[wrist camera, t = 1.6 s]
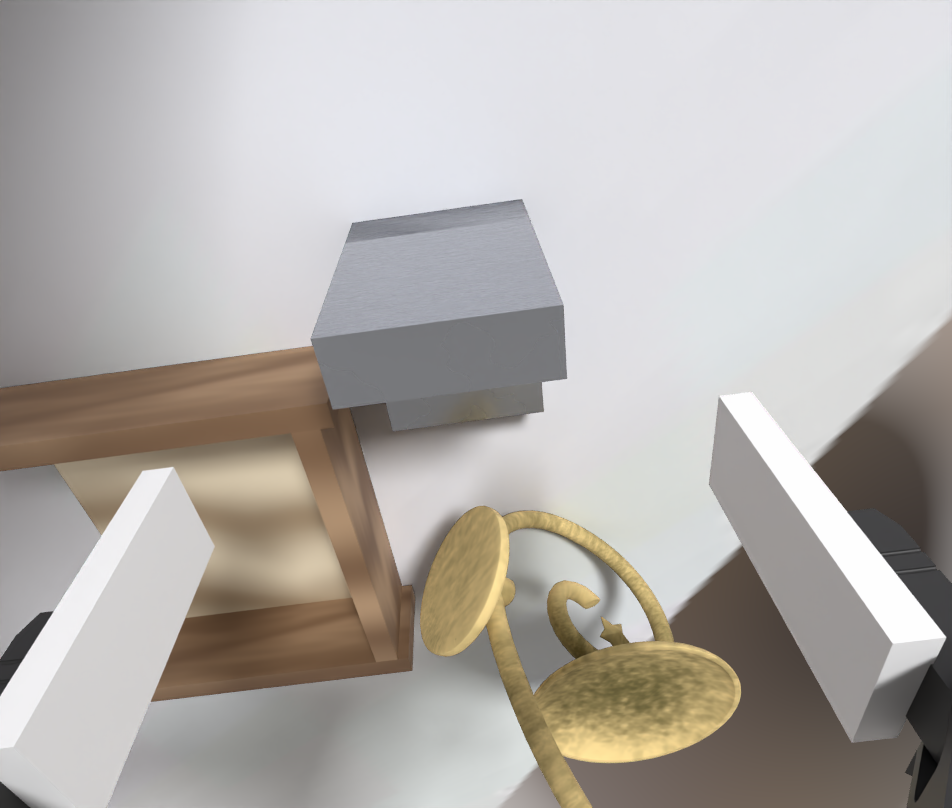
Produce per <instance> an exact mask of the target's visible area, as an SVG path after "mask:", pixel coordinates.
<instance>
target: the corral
mask: <svg viewBox="0 0 952 808" xmlns="http://www.w3.org/2000/svg"><path fill="white" fill-rule="evenodd" d="M52 464H54V465H55V467H56V468H57V470H58V471H59V473H60V474H61V476H62V477H63V479H64V480H65V482H66V483H67V485H68V486H69V488H70V489H71V491H72V492H73V494H74V495H75V497H76V498H77V500H78V501H79V502H80V504H81V505H82V507H83V508H84V510H85V511H86V513H87V514H88V516H89V517H90V519H91V520H92V522H93V523H94V525H95V526H96V528H97V529H98V531H99V532H100V534H101V535H102V534H103V533H104V531H105V530H106V528H107V526H108V525H109V523H110V522H111V520H112V519H113V517H114V515H115V514H116V512H117V511H118V509H119V508H120V506H121V504H122V503H123V501H124V500H125V498H126V496H127V495H128V493H129V492H130V490H131V489H132V487H133V485H134V484H135V482H136V481H137V479H138V477H139V476H140V474H141V473H142V471H146V470H154V469H161V468H169V467H174V469H175V471H176V473H177V474H178V476H179V478H180V480H181V482H182V484H183V486H184V488H185V490H186V492H187V494H188V496H189V498H190V500H191V502H192V503H193V505H194V507H195V509H196V511H197V513H198V515H199V517H200V519H201V521H202V523H203V525H204V527H205V529H206V531H207V532H208V534H209V536H210V538H211V540H212V542H213V544H214V546H215V547H214V549H213V552H212V554H211V557H210V559H209V561H208V564H207V566H206V569H205V571H204V574H203V576H202V578H201V581H200V583H199V586H198V588H197V591H196V593H195V595H194V598H193V600H192V603H191V605H190V607H189V610H188V612H187V615H186V617H185V620H184V622H183V624H182V627H181V629H180V632H179V634H178V637H177V639H176V641H175V644H174V646H173V649H172V651H171V653H170V656H169V658H168V661H167V663H166V666H165V668H164V670H163V673H162V675H161V678H160V680H159V683H158V685H157V687H156V690H155V692H154V695H153V697H152V699H151V702H153V701H162V700H170V699H179V698H187V697H195V696H204V695H212V694H221V693H229V692H237V691H246V690H254V689H263V688H271V687H279V686H288V685H296V684H305V683H313V682H321V681H330V680H338V679H347V678H355V677H363V676H372V675H380V674H389V673H397V672H405V671H412V667H413V641H414V615H415V595H414V591H413V588H412V585H407V586H402V584H401V581H400V577H399V574H398V571H397V567H396V564H395V560H394V557H393V554H392V550H391V547H390V543H389V540H388V537H387V533H386V530H385V527H384V523H383V520H382V516H381V513H380V510H379V506H378V503H377V500H376V496H375V493H374V489H373V486H372V483H371V479H370V476H369V472H368V469H367V466H366V462H365V459H364V456H363V452H362V449H361V445H360V442H359V439H358V435H357V432H356V428H355V425H354V422H353V418H352V415H351V412H350V408H341V409H334V410H333V408H332V405H331V402H330V399H329V396H328V393H327V389H326V386H325V383H324V380H323V377H322V374H321V370H320V367H319V364H318V361H317V358H316V355H315V351H314V348H313V346H309V347H302V348H295V349H287V350H280V351H272V352H265V353H258V354H250V355H243V356H235V357H228V358H221V359H213V360H206V361H198V362H191V363H183V364H176V365H169V366H161V367H154V368H146V369H139V370H132V371H124V372H117V373H109V374H102V375H95V376H87V377H80V378H72V379H65V380H57V381H50V382H43V383H35V384H28V385H20V386H13V387H6V388H0V471H6V470H14V469H22V468H29V467H37V466H44V465H52Z"/></svg>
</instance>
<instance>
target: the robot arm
mask: <svg viewBox="0 0 952 808" xmlns="http://www.w3.org/2000/svg"><path fill="white" fill-rule="evenodd" d="M709 485H710V487H711V489H712V491H713V493H714V494H715V496H716V498H717V500H718V502H719V503H720V505H721V507H722V509H723V511H724V512H725V514H726V516H727V518H728V520H729V522H730V523H731V525H732V527H733V529H734V531H735V532H736V534H737V536H738V538H739V540H740V541H741V543H742V545H743V547H744V549H745V550H746V552H747V554H748V556H749V558H750V559H751V561H752V563H753V565H754V567H755V568H756V570H757V572H758V574H759V576H760V578H761V579H762V581H763V583H764V585H765V586H766V588H767V590H768V592H769V594H770V595H771V597H772V599H773V601H774V603H775V605H776V606H777V608H778V610H779V612H780V614H781V615H782V617H783V619H784V621H785V623H786V624H787V626H788V628H789V630H790V632H791V634H792V635H793V637H794V639H795V641H796V642H797V644H798V646H799V648H800V650H801V651H802V653H803V655H804V657H805V659H806V661H807V662H808V664H809V666H810V668H811V670H812V671H813V673H814V675H815V677H816V679H817V680H818V682H819V684H820V686H821V688H822V690H823V691H824V693H825V695H826V697H827V699H828V700H829V702H830V704H831V706H832V708H833V709H834V711H835V713H836V715H837V717H838V718H839V720H840V722H841V724H842V726H843V727H844V729H845V731H846V733H847V735H848V736H849V738H850V740H851V742H861V741H869V740H879V739H887V738H896V737H898V735H899V733H900V731H901V729H902V727H903V725H904V723H905V721H906V719H908V720H909V722H910V723H911V725H912V726H913V728H914V730H915V731H916V732H917V734H918V736H919V737H920V739H921V740H922V742H921V744H920V746H919V747H918V749H917V751H916V753H915V756H914V757H913V759H912V761H911V762H910V764H909V766H908V768H907V770H906V772H905V773H907V774H909V775H911V776H912V781H911V786H910V792H909V797H908V803H907V808H952V583H951V582H950V581H949V580H948V579H947V578H946V577H945V576H944V574H943V573H942V572H941V571H940V570H937V569H936V565H935V564H934V563H933V562H932V561H931V559H930V558H929V557H928V556H927V555H926V554H925V553H924V552H921V551H920V547H919V546H918V545H917V543H916V542H915V541H914V540H913V539H912V538H911V537H910V535H909V534H908V533H907V532H906V531H905V530H904V529H903V528H902V526H900V525H899V524H897V523H896V522H894V521H893V520H891V519H890V518H888V517H887V516H885V515H883V514H882V513H880V512H879V511H877V510H876V509H874V508H873V509H864V510H856V511H848V512H847V511H846V510H845V509H844V508H843V507H842V505H841V504H840V503H839V501H838V500H837V499H836V497H835V496H834V495H833V494H832V493H831V491H830V490H829V489H828V487H827V486H826V485H825V484H824V482H823V481H822V480H821V479H820V478H819V476H818V475H817V474H816V472H815V471H814V470H813V468H812V467H811V466H810V465H809V463H808V462H807V461H806V460H805V458H804V457H803V456H802V455H801V453H800V452H799V451H798V450H797V448H796V447H795V446H794V445H793V443H792V442H791V441H790V439H789V438H788V437H787V436H786V434H785V433H784V432H783V431H782V429H781V428H780V427H779V426H778V424H777V423H776V422H775V421H774V419H773V418H772V417H771V416H770V414H769V413H768V412H767V410H766V409H765V408H764V407H763V405H762V404H761V403H760V402H759V400H758V399H757V398H756V397H755V395H754V394H753V393H752V392H746V393H739V394H731V395H723V396H719V400H718V409H717V418H716V426H715V435H714V444H713V452H712V461H711V470H710V479H709ZM214 547H215V546H214V544H213V542H212V540H211V538H210V536H209V534H208V532H207V531H206V529H205V527H204V525H203V523H202V521H201V519H200V517H199V515H198V513H197V511H196V509H195V507H194V505H193V503H192V502H191V500H190V498H189V496H188V494H187V492H186V490H185V488H184V486H183V484H182V482H181V480H180V478H179V476H178V474H177V473H176V471H175V469H174V467H169V468H161V469H154V470H146V471H142V473H141V474H140V476H139V477H138V479H137V481H136V482H135V484H134V485H133V487H132V489H131V490H130V492H129V493H128V495H127V496H126V498H125V500H124V501H123V503H122V504H121V506H120V508H119V509H118V511H117V512H116V514H115V515H114V517H113V519H112V520H111V522H110V523H109V525H108V526H107V528H106V530H105V531H104V533H103V534H102V536H101V538H100V539H99V541H98V542H97V544H96V545H95V547H94V549H93V550H92V552H91V553H90V555H89V557H88V558H87V560H86V561H85V563H84V564H83V566H82V568H81V569H80V571H79V572H78V574H77V576H76V577H75V579H74V580H73V582H72V583H71V585H70V587H69V588H68V590H67V591H66V593H65V594H64V596H63V598H62V599H61V601H60V602H59V604H58V606H57V607H56V609H55V610H54V611H52V612H44V613H40V614H39V615H38V616H36V617H35V618H34V619H33V620H32V621H31V622H30V623H29V624H28V625H27V626H26V627H25V628H24V629H23V630H22V631H21V632H20V633H18V634H17V635H16V636H15V638H14V639H13V641H12V642H11V644H10V645H9V647H8V648H7V650H6V651H5V653H4V654H3V656H2V657H1V659H0V808H107V806H108V804H109V801H110V799H111V796H112V794H113V791H114V789H115V787H116V784H117V782H118V779H119V777H120V774H121V772H122V770H123V767H124V765H125V762H126V760H127V758H128V755H129V753H130V750H131V748H132V745H133V743H134V741H135V738H136V736H137V733H138V731H139V728H140V726H141V724H142V721H143V719H144V716H145V714H146V712H147V709H148V707H149V704H150V702H151V699H152V697H153V695H154V692H155V690H156V687H157V685H158V683H159V680H160V678H161V675H162V673H163V670H164V668H165V666H166V663H167V661H168V658H169V656H170V653H171V651H172V649H173V646H174V644H175V641H176V639H177V637H178V634H179V632H180V629H181V627H182V624H183V622H184V620H185V617H186V615H187V612H188V610H189V607H190V605H191V603H192V600H193V598H194V595H195V593H196V591H197V588H198V586H199V583H200V581H201V578H202V576H203V574H204V571H205V569H206V566H207V564H208V561H209V559H210V557H211V554H212V552H213V549H214Z"/></svg>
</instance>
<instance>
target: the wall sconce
mask: <svg viewBox="0 0 952 808" xmlns="http://www.w3.org/2000/svg"><path fill="white" fill-rule="evenodd" d="M522 528H539V529H544V530H548V531H551V532H554V533H557V534H559V535H562V536H564V537H566V538H568V539H570V540H572V541H574V542H576V543H577V544H579V545H581V546H582V547H584V548H586V549H587V550H589V551H590V552H592V553H593V554H594V555H596V556H597V557H598V558H600V559H601V560H602V561H603V562H605V563H606V564H607V565H608V566H609V567H610V568H611V569H612V570H614V572H615V573H616V574H617V575H618V576H619V577H620V578H621V579H622V580H623V581H624V582H625V584H626V585H627V586H628V587H629V588H630V590H631V591H632V592H633V594H634V595H635V597H636V598H637V600H638V601H639V603H640V605H641V606H642V608H643V610H644V612H645V614H646V616H647V618H648V620H649V623H650V626H651V628H652V631H653V635H654V638H655V641H647V642H635V643H629V641H628V640H627V639H626V637H625V636H624V635H623V633H622V626H621V624H616V625H612V624H611V623H609V622H608V621H607V620H605V619H604V618H603V617H601V619H602V623H603V626H604V631H603V632H602V634H601V635H600V637H601V638H603V639H605V640H607V641H608V642H610V643H611V644H612V647H608V648H604V649H601V650H597V649H596V648H595V647H593V646H592V645H591V644H590V643H589V642H588V641H586V640H585V639H584V638H583V637H582V635H581V634H580V633H579V632H578V631H577V630H576V628H575V627H574V625H573V624H572V622H571V620H570V617H569V615H568V612H567V607H566V602H567V599H570V600H573V601H575V602H576V603H578V604H579V605H581V606H582V607H583V608H585V609H588V608H591V607H593V606H595V605H596V604H597V603H598V602H599V601H600V599H599V598H598V597H597V596H596V595H595V594H594V593H593V592H592V591H590V590H589V589H588V588H586V587H585V586H583V585H580V584H578V583H576V582H571V581H561V582H558V583H556V584H555V585H554V586H553V587H552V589H551V590H550V592H549V595H548V599H547V612H548V616H549V619H550V623H551V625H552V627H553V630H554V632H555V634H556V636H557V637H558V639H559V640H560V642H561V643H562V645H563V646H564V647H565V648H566V649H567V650H568V651H569V653H570V654H571V655H572V656H573V657H574V658H576V659H575V660H573V661H571V662H569V663H568V664H566V665H564V666H563V667H561V668H559V669H558V670H557V671H555V672H554V673H553V674H551V675H550V676H549V677H548V678H547V679H546V680H545V681H544V682H543V683H542V684H541V685H540V687H539V688H538V689H537V691H536V692H535V694H534V695H533V692H532V690H531V687H530V685H529V682H528V680H527V677H526V675H525V673H524V670H523V668H522V665H521V662H520V659H519V656H518V653H517V650H516V648H515V645H514V642H513V638H512V635H511V631H510V628H509V624H508V620H507V617H506V612H505V606H507V605H509V604H510V603H511V602H512V600H513V599H514V596H515V585H514V582H513V581H512V580H510V579H508V578H506V574H507V568H508V562H509V534H510V533H511V532H513V531H515V530H518V529H522ZM485 626H486V627H487V631H488V635H489V639H490V643H491V647H492V651H493V654H494V657H495V660H496V663H497V666H498V669H499V672H500V675H501V678H502V681H503V684H504V686H505V689H506V692H507V694H508V697H509V700H510V702H511V705H512V707H513V710H514V712H515V715H516V717H517V719H518V722H519V724H520V726H521V729H522V731H523V733H524V736H525V738H526V740H527V742H528V744H529V746H530V749H531V751H532V753H533V755H534V757H535V759H536V761H537V763H538V765H539V767H540V769H541V771H542V773H543V775H544V777H545V779H546V780H547V782H548V784H549V786H550V788H551V790H552V792H553V794H554V796H555V797H556V799H557V801H558V802H559V804H560V806H561V808H592V806H591V804H590V802H589V801H588V799H587V798H586V796H585V794H584V792H583V791H582V789H581V787H580V786H579V784H578V782H577V781H576V779H575V777H574V776H573V774H572V772H571V770H570V768H569V766H568V764H567V763H566V761H565V759H564V757H563V756H565V757H568V758H572V759H576V760H581V761H587V762H598V763H620V762H632V761H640V760H645V759H651V758H655V757H659V756H663V755H667V754H670V753H673V752H676V751H679V750H681V749H683V748H686V747H689V746H691V745H692V744H695V743H697V742H699V741H700V740H702V739H704V738H706V737H707V736H709V735H710V734H712V733H713V732H714V731H716V730H717V729H718V728H720V727H721V726H722V725H723V724H724V723H725V722H726V721H727V720H728V719H729V718H730V717H731V716H732V714H733V712H734V711H735V709H736V708H737V705H738V703H739V700H740V696H741V687H740V686H741V685H740V682H739V679H738V677H737V675H736V674H735V672H734V670H733V669H732V668H731V667H730V666H729V665H728V664H727V663H726V662H725V661H724V660H722V659H721V658H720V657H718V656H716V655H714V654H712V653H710V652H708V651H706V650H704V649H701V648H698V647H695V646H692V645H687V644H682V643H676V642H674V640H673V636H672V633H671V630H670V626H669V624H668V621H667V619H666V616H665V614H664V612H663V610H662V608H661V606H660V604H659V602H658V600H657V599H656V597H655V595H654V594H653V592H652V591H651V589H650V588H649V586H648V585H647V584H646V582H645V581H644V580H643V578H642V577H641V576H640V575H639V574H638V572H637V571H636V570H635V569H634V568H633V567H632V566H631V565H630V564H629V563H628V562H627V561H626V560H625V559H624V558H623V557H622V556H621V555H620V554H619V553H618V552H617V551H615V550H614V549H613V548H612V547H611V546H609V545H608V544H607V543H605V542H604V541H603V540H601V539H600V538H598V537H597V536H596V535H594V534H592V533H591V532H589V531H587V530H586V529H584V528H582V527H580V526H579V525H577V524H575V523H573V522H571V521H568V520H566V519H564V518H561V517H559V516H556V515H553V514H549V513H545V512H540V511H518V512H513V513H509V514H507V515H505V516H503V517H502V516H501V515H500V514H499V513H498V512H497V511H495V510H494V509H492V508H490V507H486V506H478V507H475V508H473V509H471V510H469V511H468V512H466V513H465V514H464V515H463V516H462V517H461V518H460V519H459V520H458V521H457V522H456V523H455V524H454V526H453V527H452V528H451V530H450V531H449V533H448V534H447V536H446V537H445V539H444V541H443V542H442V544H441V546H440V548H439V550H438V552H437V554H436V556H435V558H434V561H433V563H432V566H431V568H430V571H429V574H428V577H427V581H426V584H425V588H424V592H423V598H422V604H421V613H420V627H421V634H422V639H423V641H424V644H425V646H426V647H427V649H428V650H429V651H430V652H432V653H434V654H436V655H439V656H445V657H446V656H453V655H456V654H458V653H460V652H462V651H463V650H465V649H466V648H467V647H468V646H469V645H470V644H471V643H472V642H473V641H474V640H475V639H476V638H477V637H478V636H479V634H480V633H481V632H482V630H483V629H484V627H485Z"/></svg>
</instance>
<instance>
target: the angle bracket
mask: <svg viewBox="0 0 952 808" xmlns="http://www.w3.org/2000/svg"><path fill="white" fill-rule="evenodd" d="M311 342H312V345H313V348H314V351H315V355H316V358H317V361H318V364H319V367H320V370H321V374H322V377H323V380H324V383H325V386H326V389H327V393H328V396H329V399H330V402H331V405H332V408H333V410H334V409H341V408H349V407H356V406H364V405H371V404H379V403H386V406H387V410H388V414H389V418H390V422H391V426H392V430H393V431H400V430H407V429H415V428H423V427H430V426H438V425H446V424H453V423H461V422H469V421H476V420H484V419H492V418H499V417H507V416H515V415H522V414H530V413H538V412H544V408H543V395H542V382H546V381H553V380H561V379H567V370H566V349H565V328H564V306H563V302H562V300H561V297H560V295H559V292H558V290H557V287H556V285H555V282H554V279H553V277H552V274H551V272H550V269H549V267H548V264H547V262H546V259H545V256H544V254H543V251H542V249H541V246H540V244H539V241H538V239H537V236H536V233H535V231H534V228H533V226H532V223H531V221H530V218H529V216H528V213H527V211H526V208H525V205H524V203H523V200H522V199H520V200H513V201H506V202H498V203H491V204H484V205H477V206H470V207H463V208H456V209H449V210H442V211H434V212H427V213H420V214H413V215H406V216H399V217H392V218H385V219H377V220H370V221H363V222H356V223H352V226H351V229H350V231H349V234H348V237H347V240H346V242H345V245H344V248H343V251H342V254H341V256H340V259H339V262H338V265H337V267H336V270H335V273H334V276H333V278H332V281H331V284H330V287H329V289H328V292H327V295H326V298H325V301H324V303H323V306H322V309H321V312H320V314H319V317H318V320H317V323H316V325H315V328H314V331H313V334H312V336H311Z"/></svg>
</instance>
